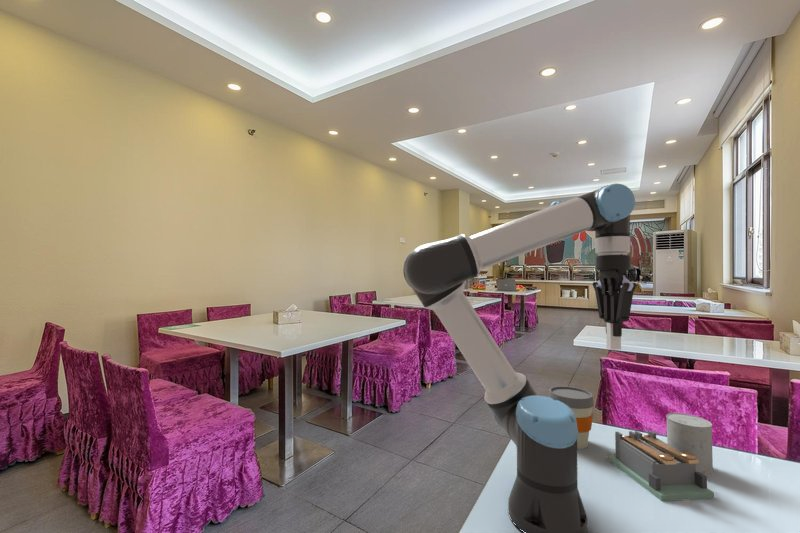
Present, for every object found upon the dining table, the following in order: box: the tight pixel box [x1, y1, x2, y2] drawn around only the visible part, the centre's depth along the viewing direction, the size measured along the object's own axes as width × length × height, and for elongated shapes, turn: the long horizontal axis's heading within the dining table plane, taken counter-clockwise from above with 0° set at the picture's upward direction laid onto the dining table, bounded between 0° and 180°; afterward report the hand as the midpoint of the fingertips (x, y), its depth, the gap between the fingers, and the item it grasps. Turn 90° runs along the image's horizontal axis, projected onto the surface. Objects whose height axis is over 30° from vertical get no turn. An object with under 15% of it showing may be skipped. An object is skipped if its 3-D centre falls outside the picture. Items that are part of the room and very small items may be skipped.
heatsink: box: [607, 430, 715, 502], centre depth 89 cm, size 13×18×8 cm
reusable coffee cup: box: [548, 385, 595, 450], centre depth 108 cm, size 12×13×15 cm
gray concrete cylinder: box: [665, 412, 714, 477], centre depth 94 cm, size 10×10×12 cm
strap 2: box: [642, 434, 699, 464], centre depth 89 cm, size 3×15×2 cm, turn 5°
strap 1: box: [623, 435, 676, 465], centre depth 88 cm, size 3×15×2 cm, turn 5°
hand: (613, 348), depth 88 cm, fingers closed
